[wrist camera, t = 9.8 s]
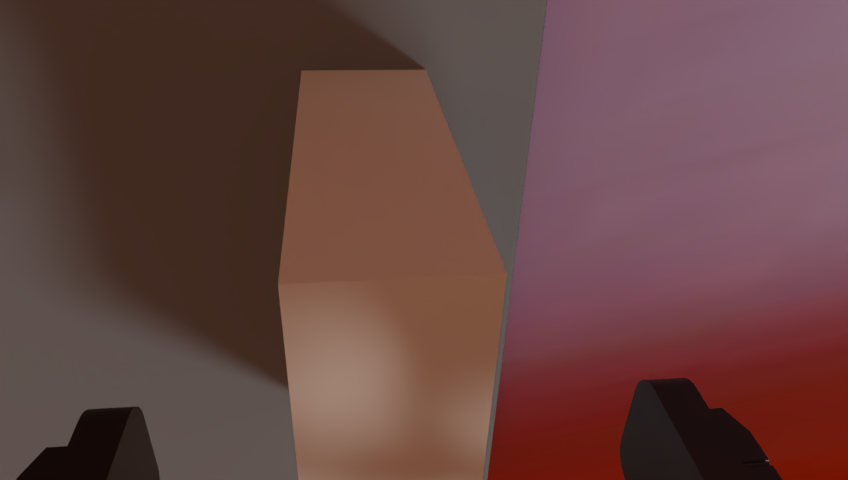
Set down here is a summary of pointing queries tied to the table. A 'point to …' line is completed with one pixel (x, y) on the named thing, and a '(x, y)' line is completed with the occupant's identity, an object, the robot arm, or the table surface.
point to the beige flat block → (385, 285)
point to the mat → (204, 201)
